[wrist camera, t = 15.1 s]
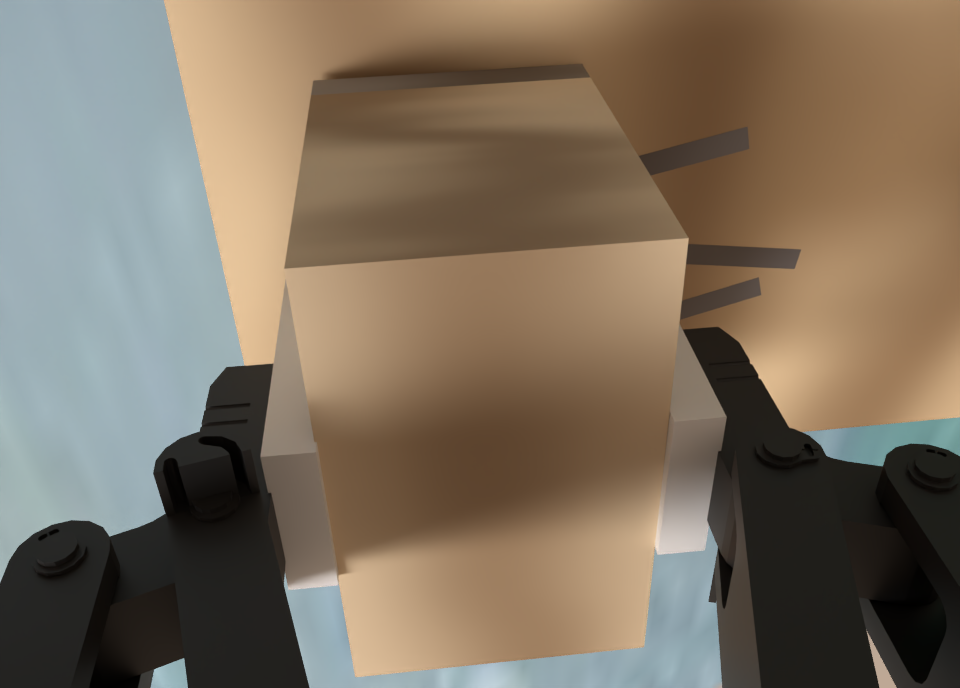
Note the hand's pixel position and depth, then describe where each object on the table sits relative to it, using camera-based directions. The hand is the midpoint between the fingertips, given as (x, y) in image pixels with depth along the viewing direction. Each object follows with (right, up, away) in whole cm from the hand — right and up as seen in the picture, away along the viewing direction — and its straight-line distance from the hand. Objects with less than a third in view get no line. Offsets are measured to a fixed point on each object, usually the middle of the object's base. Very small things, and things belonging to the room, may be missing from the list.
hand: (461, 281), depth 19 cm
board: (+4, +2, +2) cm, 5 cm away
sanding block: (0, +1, +1) cm, 1 cm away
